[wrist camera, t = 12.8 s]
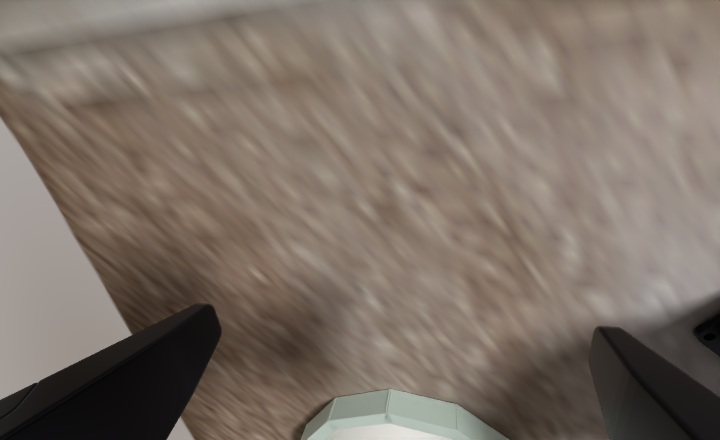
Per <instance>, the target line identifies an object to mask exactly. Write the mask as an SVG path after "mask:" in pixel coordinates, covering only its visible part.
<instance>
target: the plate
mask: <svg viewBox="0 0 720 440" xmlns="http://www.w3.org/2000/svg"><path fill="white" fill-rule="evenodd" d="M301 440H510V439H508V438H506V437H505V436H503V435H502V434H500V433H499V432H497V431H496V430H494V429H493V428H492V427H490V426H489V425H487V424H486V423H484V422H483V421H481V420H480V419H478V418H477V417H475V416H474V415H472V414H471V413H469V412H468V411H466V410H465V409H463V408H462V407H460V406H459V405H458V404H454V403H449V402H445V401H441V400H437V399H432V398H428V397H424V396H419V395H415V394H411V393H406V392H402V391H398V390H393V389H386V390H380V391H374V392H368V393H362V394H355V395H349V396H343V397H337V398H334V399H333V400H332V401H331V402H330V403H329V404H328V405H327V406H326V407H325V408H324V409H323V410H322V411H321V412H320V413H318V414H317V415H316V416H315V417H314V418H313V419H312V420H311V421H310V422H309V423H308V424H307V425H306V427H305V430H304V432H303V435H302V438H301Z"/></svg>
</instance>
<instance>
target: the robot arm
mask: <svg viewBox="0 0 720 440" xmlns="http://www.w3.org/2000/svg"><path fill="white" fill-rule="evenodd" d="M693 332H694V335H695V336H696V338H697V339H698V340H699V341H700V342H701V343H702V344H704V345H705V346H706V347H708V348H709V349H710V350H712V351H713V352H715V353H716V354H717V355H719V356H720V314H718V315H717V316H715V317H713V318H711V319H710V320H708V321H706V322H704V323H703V324H701V325H699V326H698V327H696V328H695V329H694V331H693ZM708 333H709V334H708ZM706 334H708V335H706ZM220 337H221V326H220V323H219V320H218V317H217V314H216V311H215V309H214V307H213V306H212V305H210V304H195V305H193V306H190V307H188V308H186V309H184V310H182V311H180V312H178V313H176V314H174V315H172V316H170V317H168V318H166V319H164V320H162V321H160V322H158V323H156V324H154V325H152V326H150V327H148V328H146V329H144V330H142V331H140V332H138V333H136V334H134V335H132V336H130V337H128V338H126V339H124V340H121V341H119V342H117V343H115V344H113V345H111V346H109V347H107V348H105V349H103V350H101V351H99V352H97V353H95V354H93V355H91V356H89V357H87V358H85V359H83V360H81V361H79V362H77V363H75V364H73V365H71V366H69V367H67V368H65V369H63V370H61V371H58V372H56V373H55V374H52V375H50V376H48V377H46V378H44V379H42V380H40V381H39V382H38V383H34V384H32V385H30V386H28V387H26V388H24V389H22V390H20V391H18V392H16V393H14V394H12V395H9V396H8V397H5V398H3V399H1V400H0V440H166V439H167V438H168V436H169V434H170V432H171V431H172V429H173V428H174V426H175V424H176V422H177V421H178V419H179V417H180V416H181V414H182V412H183V411H184V409H185V407H186V405H187V404H188V402H189V400H190V399H191V397H192V395H193V393H194V391H195V389H196V387H197V385H198V383H199V381H200V379H201V377H202V375H203V373H204V371H205V369H206V367H207V365H208V362H209V360H210V358H211V356H212V354H213V352H214V350H215V348H216V346H217V343H218V341H219V339H220ZM589 365H590V370H591V374H592V377H593V381H594V384H595V388H596V392H597V395H598V399H599V402H600V406H601V409H602V413H603V417H604V420H605V424H606V427H607V431H608V434H609V438H610V440H720V397H719V396H717V395H716V394H714V393H713V392H712V391H710V390H709V389H707V388H706V387H704V386H703V385H702V384H700V383H699V382H697V381H696V380H694V379H693V378H692V377H690V376H689V375H687V374H686V373H685V372H683V371H682V370H680V369H679V368H677V367H676V366H675V365H673V364H672V363H670V362H669V361H667V360H666V359H665V358H663V357H662V356H660V355H659V354H657V353H656V352H655V351H653V350H652V349H650V348H649V347H647V346H646V345H645V344H643V343H642V342H640V341H639V340H637V339H636V338H635V337H633V336H632V335H630V334H629V333H627V332H626V331H625V330H623V329H621V328H619V327H609V326H598V327H596V328H595V330H594V333H593V338H592V343H591V349H590V354H589Z"/></svg>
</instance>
